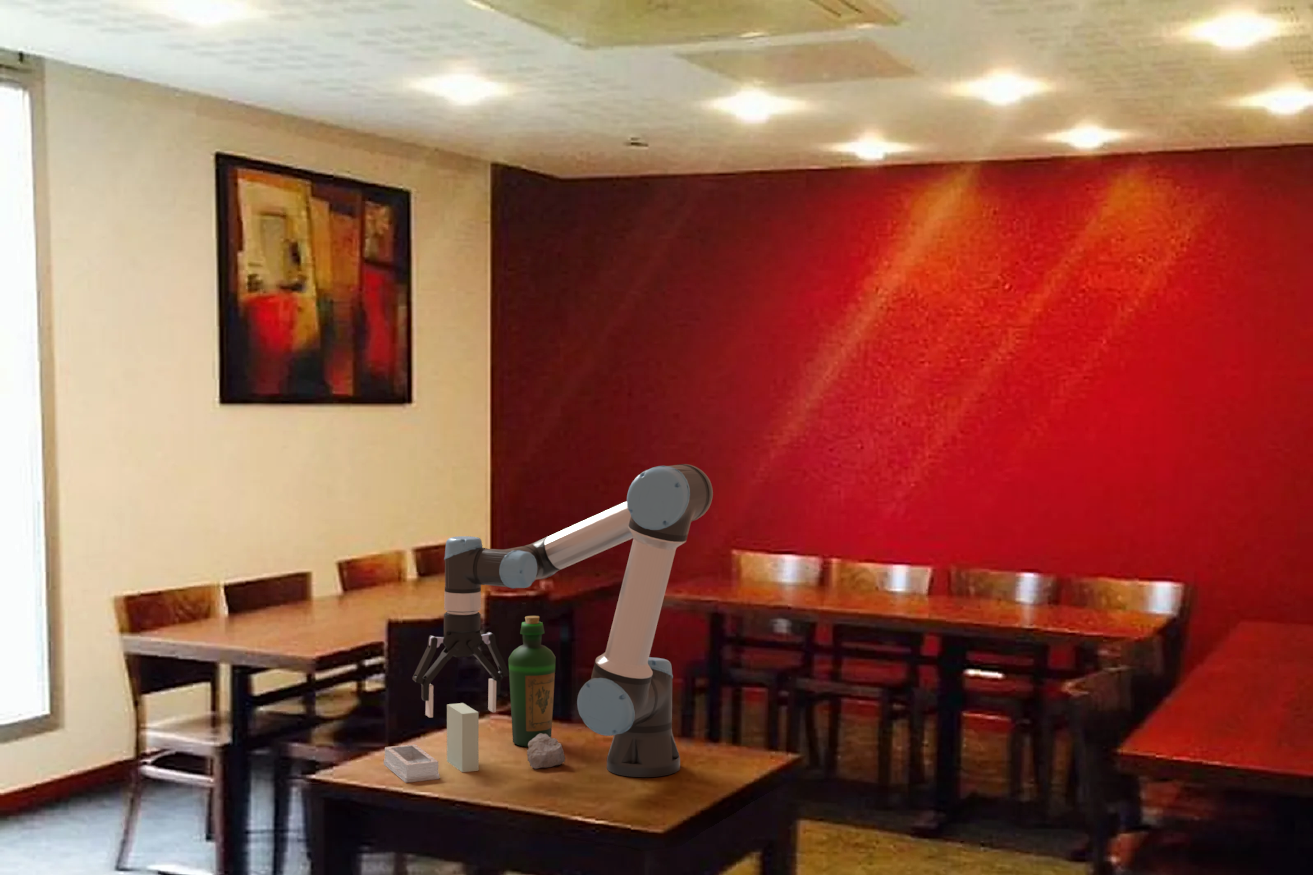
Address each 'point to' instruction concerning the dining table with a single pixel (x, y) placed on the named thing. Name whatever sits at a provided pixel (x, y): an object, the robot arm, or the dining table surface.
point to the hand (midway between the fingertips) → (460, 713)
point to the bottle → (531, 684)
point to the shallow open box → (411, 763)
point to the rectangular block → (462, 737)
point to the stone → (544, 752)
